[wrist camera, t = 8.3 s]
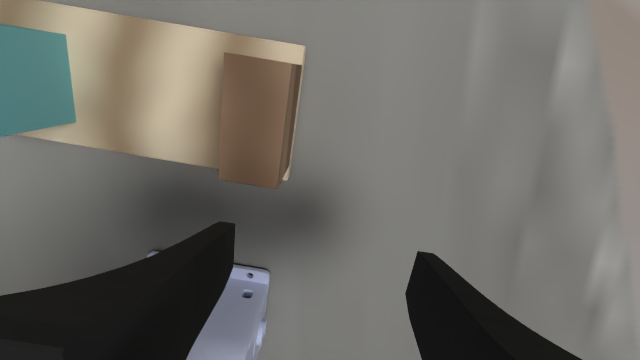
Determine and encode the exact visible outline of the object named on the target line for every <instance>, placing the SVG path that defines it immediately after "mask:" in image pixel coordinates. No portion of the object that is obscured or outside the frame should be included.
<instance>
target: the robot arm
mask: <svg viewBox="0 0 640 360" xmlns="http://www.w3.org/2000/svg"><path fill="white" fill-rule="evenodd" d="M234 239H235V224H233V223H227V222H218V223H216V224H214V225H212V226H210V227H208V228H206V229H204V230H202V231H201V232H199V233H197V234H195V235H193V236H191V237H189V238H187V239H186V240H184V241H182V242H180V243H178V244H176V245H174V246H171V247H169V248H167V249H165V250H163V251H161V252H157V251H152V252H150V253H149V254H148V255H147V258H145V259H142V260H140V261H137V262H134V263H132V264H129V265H126V266H124V267H121V268H118V269H114V270H111V271H108V272H105V273H101V274H98V275H95V276H92V277H88V278H84V279H80V280H76V281H73V282H69V283H64V284H60V285H55V286H51V287H46V288H42V289H37V290H31V291H25V292H20V293H14V294H8V295H3V296H0V360H256V359H257V356H258V352H259V348H260V347H261V345H262V343H263V340H264V336H265V331H266V326H267V319H265V314H266V306H267V298H268V290H269V282H270V273H269V272H268V271H267V270H263V269H257V268H252V267H246V266H240V265H234V264H233V261H234ZM248 273H252V274H253V275H249V274H248ZM405 294H406V300H407V307H408V313H409V318H410V322H411V325H412V328H413V332H414V335H415V338H416V342H417V345H418V348H419V351H420V355H421V358H422V360H582V359H580V358H578V357H577V356H575V355H573V354H571V353H569V352H567V351H566V350H564V349H562V348H561V347H559V346H557V345H555V344H554V343H552V342H550V341H549V340H547V339H545V338H544V337H542V336H540V335H539V334H537V333H536V332H534V331H532V330H531V329H529V328H528V327H526V326H525V325H523V324H522V323H520V322H519V321H518V320H516V319H515V318H513V317H512V316H510V315H509V314H507V313H506V312H505V311H503V310H502V309H500V308H499V307H498V306H497V305H495V304H494V303H493V302H491V301H490V300H489V299H488V298H486V297H485V296H484V295H482V294H481V293H480V292H479V291H478V290H476V289H475V288H474V287H473V286H472V285H470V284H469V283H468V282H467V281H466V280H464V279H463V278H462V277H461V276H460V275H459V274H458V273H456V272H455V271H454V270H453V269H452V268H451V267H450V266H448V265H447V264H446V263H445V262H444V261H443V260H441V259H440V258H439V257H438V256H436V255H435V254H433V253H427V252H420V251H418V252H417V256H416V259H415V263H414V266H413V269H412V273H411V276H410V280H409V283H408V287H407V290H406V293H405Z"/></svg>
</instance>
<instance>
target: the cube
mask: <svg viewBox="0 0 640 360" xmlns="http://www.w3.org/2000/svg"><path fill="white" fill-rule="evenodd" d="M74 122H76V114H75V106H74V98H73V89H72V81H71V73H70V65H69V57H68V49H67V40H66V34H60V33H54V32H48V31H42V30H37V29H31V28H25V27H19V26H13V25H7V24H1V23H0V137H3V136H8V135H13V134H18V133H23V132H28V131H34V130H39V129H44V128H49V127H54V126H59V125H64V124H69V123H74Z"/></svg>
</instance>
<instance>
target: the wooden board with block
mask: <svg viewBox="0 0 640 360" xmlns="http://www.w3.org/2000/svg"><path fill="white" fill-rule="evenodd" d="M0 23H1V24H7V25H13V26H19V27H25V28H31V29H37V30H42V31H48V32H54V33H60V34H66V40H67V49H68V57H69V65H70V73H71V81H72V89H73V98H74V106H75V114H76V122H74V123H69V124H64V125H59V126H54V127H49V128H44V129H39V130H34V131H28V132H23V133H18V134H16V135H22V136H28V137H33V138H39V139H45V140H51V141H57V142H63V143H69V144H75V145H81V146H86V147H92V148H98V149H104V150H110V151H116V152H122V153H128V154H133V155H139V156H145V157H151V158H157V159H163V160H169V161H175V162H180V163H186V164H192V165H198V166H204V167H210V168H216V169H219V175H218V180H224V181H230V182H236V183H242V184H248V185H254V186H259V187H265V188H271V189H277V188H278V186H279V184H280V183H281V181H282V180H286V181H287V180H288V178H289V176H290V168H291V161H292V153H293V146H294V138H295V130H296V123H297V115H298V108H299V100H300V93H301V85H302V77H303V70H304V62H305V55H306V47H305V46H302V45H296V44H290V43H284V42H279V41H273V40H267V39H261V38H255V37H249V36H243V35H238V34H232V33H226V32H220V31H214V30H208V29H202V28H196V27H191V26H185V25H179V24H173V23H167V22H161V21H155V20H149V19H144V18H138V17H132V16H126V15H120V14H114V13H108V12H102V11H97V10H91V9H85V8H79V7H73V6H67V5H61V4H56V3H50V2H44V1H38V0H0Z"/></svg>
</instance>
